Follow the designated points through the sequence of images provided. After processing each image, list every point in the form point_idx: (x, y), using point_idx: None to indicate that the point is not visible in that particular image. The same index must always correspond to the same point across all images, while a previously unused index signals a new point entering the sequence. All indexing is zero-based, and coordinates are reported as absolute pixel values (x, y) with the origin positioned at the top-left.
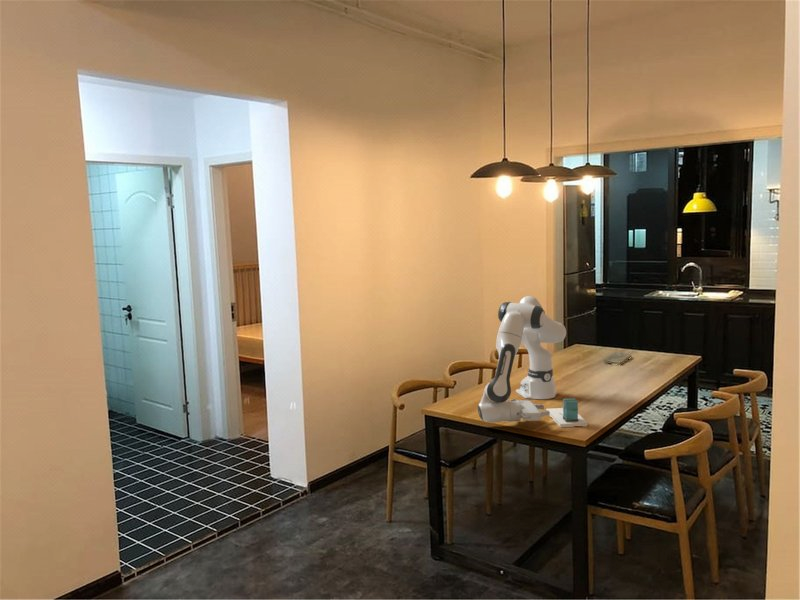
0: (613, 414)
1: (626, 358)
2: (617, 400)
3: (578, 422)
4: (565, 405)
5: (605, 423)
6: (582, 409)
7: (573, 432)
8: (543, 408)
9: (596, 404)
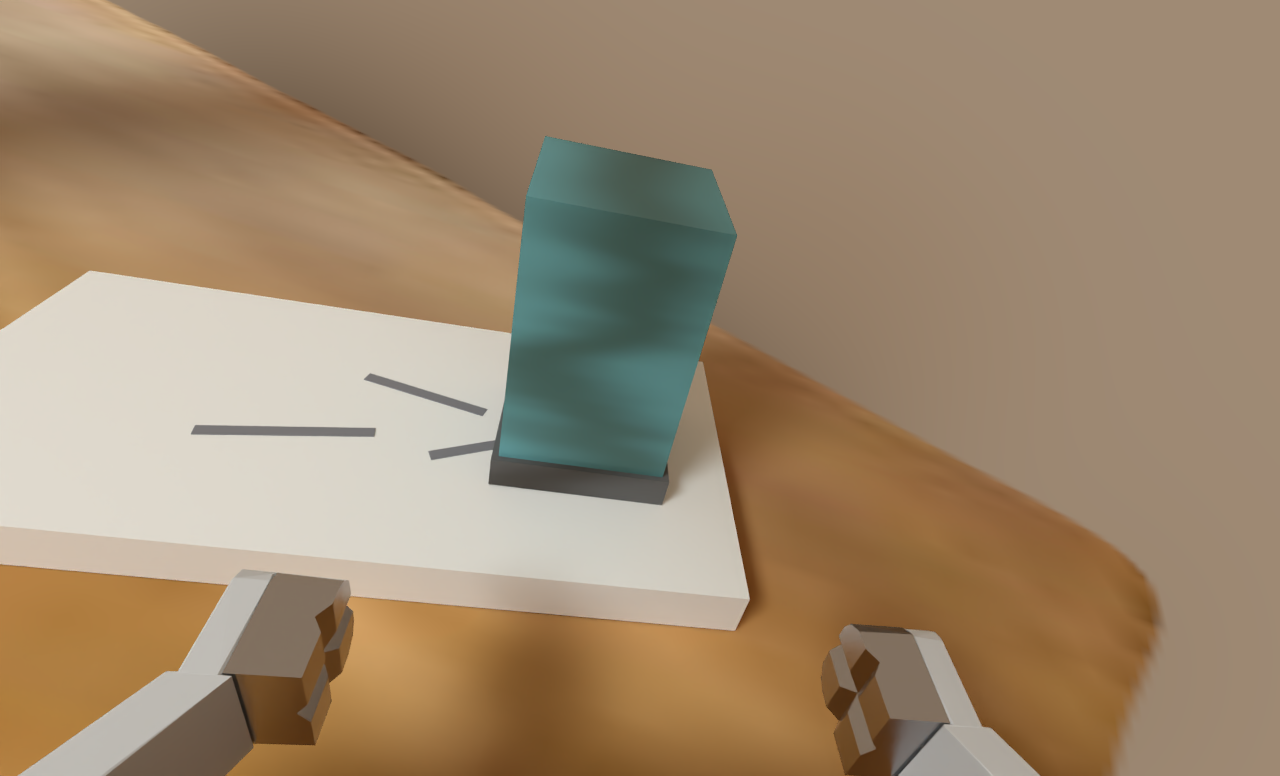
0: (426, 197)
1: None
2: (130, 89)
3: (684, 411)
4: (658, 298)
5: None
6: (147, 243)
7: (915, 558)
8: (348, 640)
9: (101, 155)
